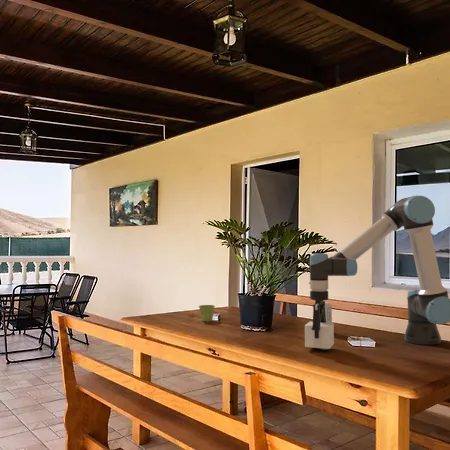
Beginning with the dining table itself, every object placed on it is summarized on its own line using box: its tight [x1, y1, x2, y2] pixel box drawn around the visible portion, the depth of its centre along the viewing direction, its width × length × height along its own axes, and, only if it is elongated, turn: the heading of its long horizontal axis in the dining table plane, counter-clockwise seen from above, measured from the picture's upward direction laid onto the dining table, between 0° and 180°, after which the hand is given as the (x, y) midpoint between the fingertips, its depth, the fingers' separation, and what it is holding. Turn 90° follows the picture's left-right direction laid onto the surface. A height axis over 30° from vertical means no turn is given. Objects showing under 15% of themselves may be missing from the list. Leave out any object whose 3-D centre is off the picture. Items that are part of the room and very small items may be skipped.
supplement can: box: [325, 301, 333, 323], centre depth 232 cm, size 8×8×15 cm
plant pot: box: [198, 304, 216, 323], centre depth 269 cm, size 9×9×9 cm
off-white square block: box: [304, 321, 335, 350], centre depth 196 cm, size 10×10×9 cm
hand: (319, 343), depth 196 cm, fingers closed on off-white square block, 10 cm apart
